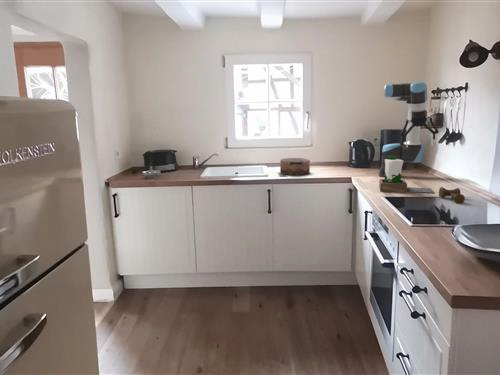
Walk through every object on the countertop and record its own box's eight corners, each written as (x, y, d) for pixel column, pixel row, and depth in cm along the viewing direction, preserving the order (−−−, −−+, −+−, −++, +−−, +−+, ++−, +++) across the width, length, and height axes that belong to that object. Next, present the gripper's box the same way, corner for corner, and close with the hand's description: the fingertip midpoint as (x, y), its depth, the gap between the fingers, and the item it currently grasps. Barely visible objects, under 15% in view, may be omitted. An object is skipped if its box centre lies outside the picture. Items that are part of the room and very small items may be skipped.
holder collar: (379, 186, 239) (379, 178, 238) (403, 187, 235) (404, 179, 234) (380, 191, 225) (380, 183, 224) (406, 192, 221) (407, 184, 220)
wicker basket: (311, 176, 281) (312, 161, 279) (281, 176, 282) (281, 162, 280) (307, 170, 310) (307, 157, 308) (279, 170, 311) (279, 157, 309)
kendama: (449, 204, 195) (435, 195, 214) (469, 205, 194) (453, 195, 213) (450, 193, 193) (436, 184, 213) (470, 193, 192) (455, 185, 212)
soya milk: (394, 187, 236) (396, 155, 232) (403, 190, 227) (405, 156, 223) (381, 188, 233) (383, 155, 229) (390, 191, 225) (392, 157, 221)
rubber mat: (407, 188, 234) (407, 187, 234) (430, 189, 230) (430, 188, 230) (409, 192, 222) (409, 191, 221) (434, 193, 218) (434, 192, 218)
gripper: (394, 113, 220) (396, 149, 228) (443, 109, 211) (443, 146, 218) (395, 111, 227) (397, 145, 234) (442, 106, 217) (442, 142, 224)
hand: (419, 146), depth 226 cm, fingers open, 13 cm apart
